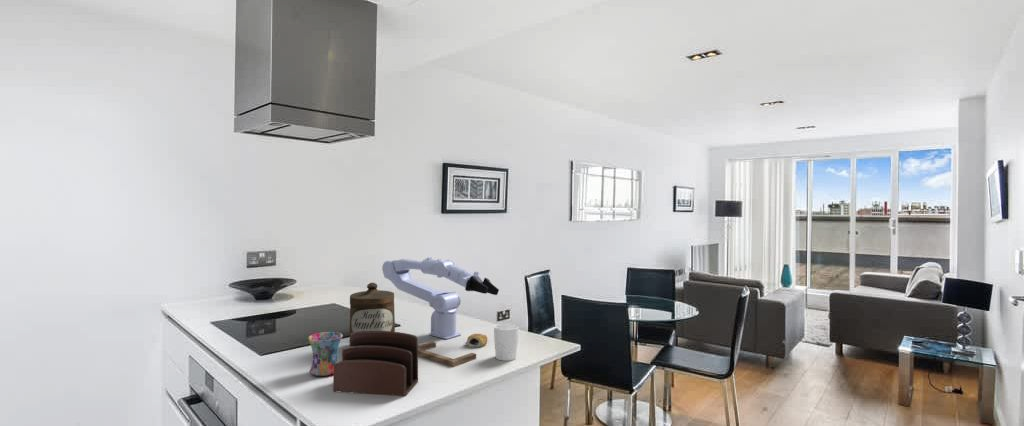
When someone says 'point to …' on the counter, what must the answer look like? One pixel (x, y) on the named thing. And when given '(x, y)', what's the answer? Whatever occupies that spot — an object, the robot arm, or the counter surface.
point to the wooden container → (372, 310)
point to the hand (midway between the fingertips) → (492, 291)
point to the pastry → (476, 340)
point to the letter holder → (378, 364)
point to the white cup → (506, 341)
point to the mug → (324, 352)
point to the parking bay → (443, 359)
